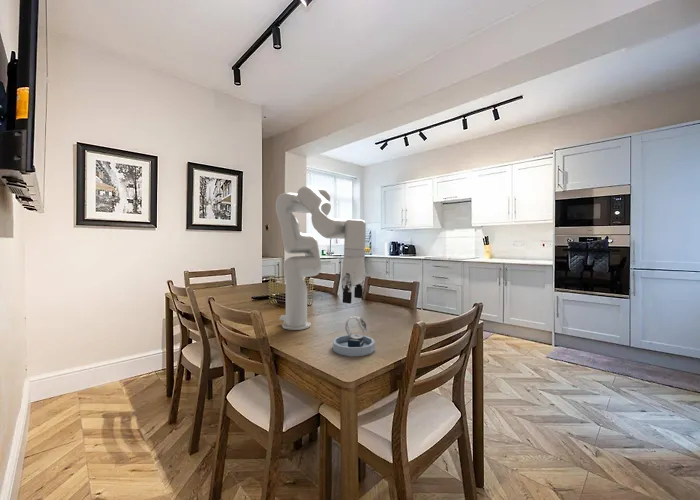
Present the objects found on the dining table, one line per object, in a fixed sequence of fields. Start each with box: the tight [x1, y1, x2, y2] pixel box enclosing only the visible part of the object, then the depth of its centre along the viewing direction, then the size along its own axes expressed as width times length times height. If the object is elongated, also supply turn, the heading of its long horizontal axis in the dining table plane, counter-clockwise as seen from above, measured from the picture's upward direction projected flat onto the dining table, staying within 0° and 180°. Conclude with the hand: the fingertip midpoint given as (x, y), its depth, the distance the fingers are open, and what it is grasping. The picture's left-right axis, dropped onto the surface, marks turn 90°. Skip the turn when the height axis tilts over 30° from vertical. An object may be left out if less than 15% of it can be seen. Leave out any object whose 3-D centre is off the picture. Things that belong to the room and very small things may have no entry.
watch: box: [344, 315, 368, 347], centre depth 118 cm, size 6×8×11 cm
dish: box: [332, 334, 376, 357], centre depth 119 cm, size 15×15×3 cm
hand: (352, 300), depth 119 cm, fingers open, 9 cm apart
